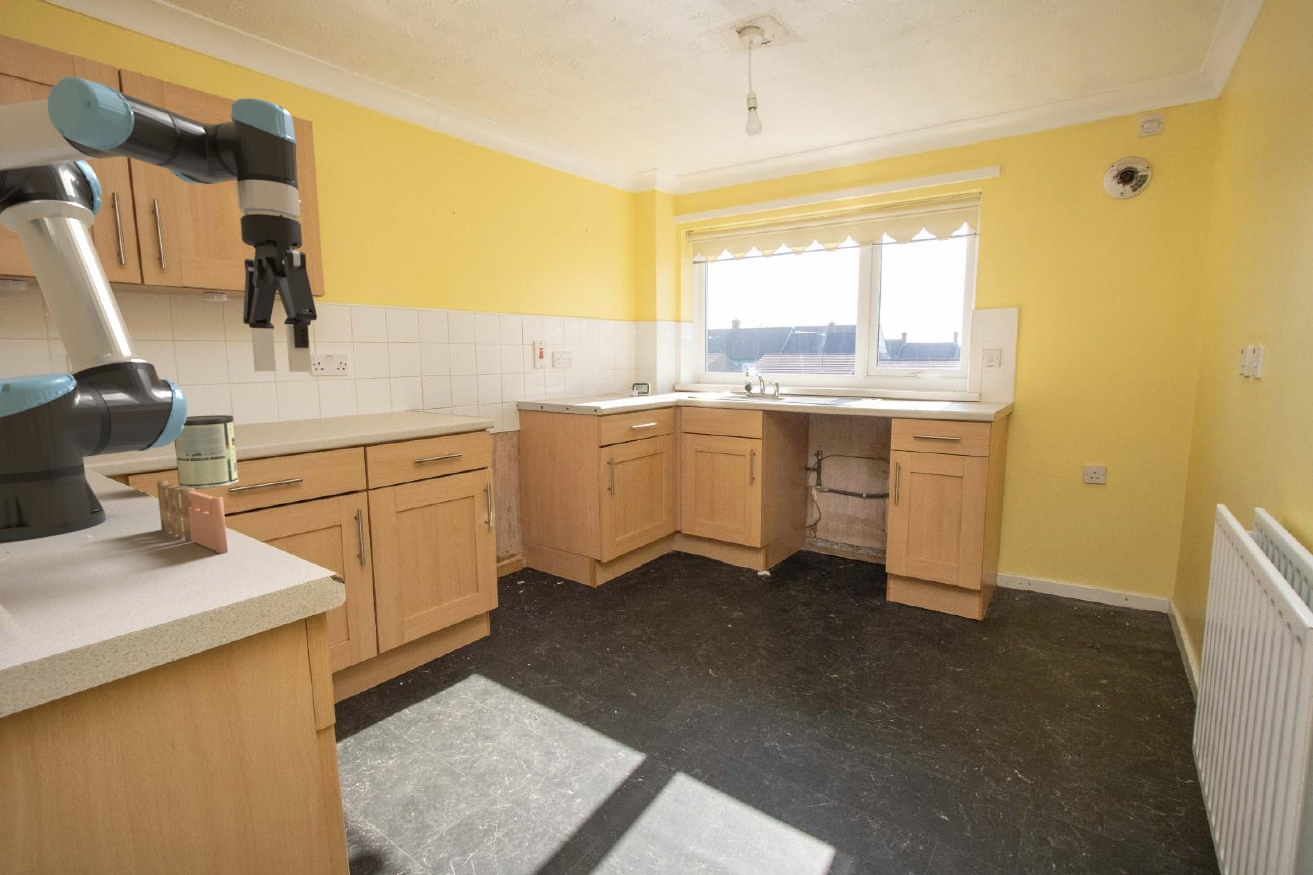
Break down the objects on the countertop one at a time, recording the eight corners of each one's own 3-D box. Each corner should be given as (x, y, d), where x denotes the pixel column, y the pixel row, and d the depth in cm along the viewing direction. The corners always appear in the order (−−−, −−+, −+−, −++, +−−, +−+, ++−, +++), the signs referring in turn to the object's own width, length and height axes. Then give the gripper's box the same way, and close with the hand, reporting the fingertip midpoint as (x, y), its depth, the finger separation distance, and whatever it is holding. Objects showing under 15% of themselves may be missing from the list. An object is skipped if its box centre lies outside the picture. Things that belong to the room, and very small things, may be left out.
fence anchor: (159, 532, 91) (153, 481, 90) (172, 529, 92) (167, 480, 91) (187, 544, 84) (182, 490, 83) (201, 542, 86) (196, 488, 85)
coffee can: (171, 485, 129) (165, 417, 127) (229, 478, 137) (223, 414, 135) (186, 491, 123) (179, 420, 121) (246, 483, 130) (240, 416, 129)
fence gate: (190, 542, 84) (185, 490, 83) (200, 540, 85) (196, 489, 84) (218, 554, 79) (213, 499, 78) (229, 551, 80) (224, 497, 79)
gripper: (337, 212, 87) (347, 371, 89) (263, 232, 100) (274, 370, 103) (280, 200, 81) (292, 372, 83) (209, 223, 94) (221, 371, 96)
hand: (282, 371), depth 93 cm, fingers open, 10 cm apart
